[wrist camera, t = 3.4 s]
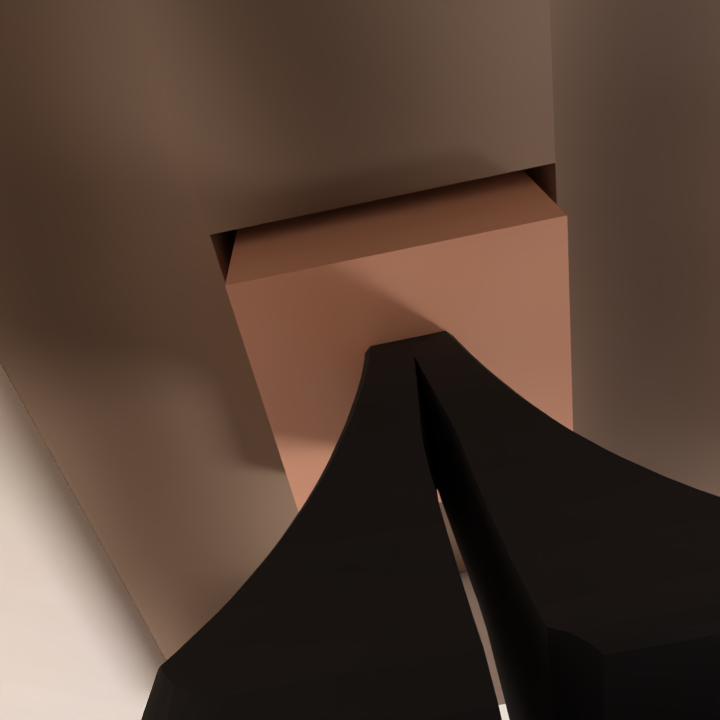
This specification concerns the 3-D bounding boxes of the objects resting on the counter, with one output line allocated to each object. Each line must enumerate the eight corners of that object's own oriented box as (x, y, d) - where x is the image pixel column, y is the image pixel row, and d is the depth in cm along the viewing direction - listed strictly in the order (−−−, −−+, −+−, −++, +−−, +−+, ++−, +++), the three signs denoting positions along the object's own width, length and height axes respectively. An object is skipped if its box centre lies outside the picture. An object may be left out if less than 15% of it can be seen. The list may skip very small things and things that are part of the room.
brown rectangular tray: (832, -907, 7) (1047, -1249, 5) (682, 616, 21) (725, 692, 19) (-386, -591, 8) (-640, -789, 6) (239, 698, 22) (232, 781, 19)
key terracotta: (497, 144, 13) (567, 215, 10) (514, 360, 16) (574, 476, 12) (244, 198, 13) (224, 286, 10) (302, 402, 16) (303, 528, 12)
